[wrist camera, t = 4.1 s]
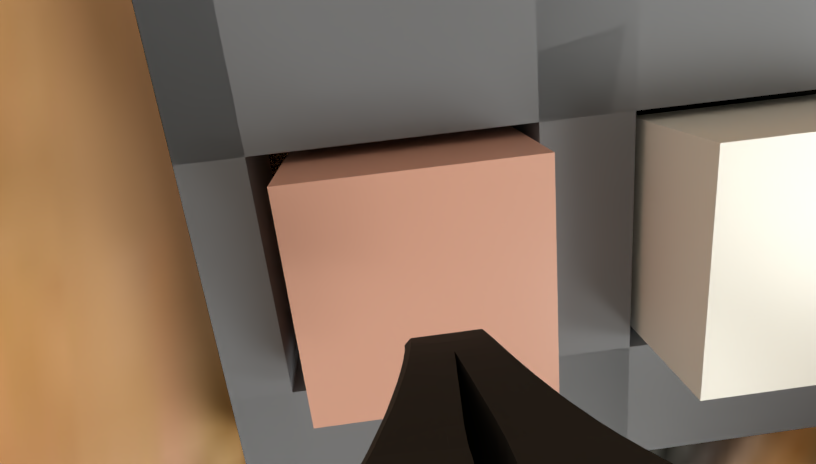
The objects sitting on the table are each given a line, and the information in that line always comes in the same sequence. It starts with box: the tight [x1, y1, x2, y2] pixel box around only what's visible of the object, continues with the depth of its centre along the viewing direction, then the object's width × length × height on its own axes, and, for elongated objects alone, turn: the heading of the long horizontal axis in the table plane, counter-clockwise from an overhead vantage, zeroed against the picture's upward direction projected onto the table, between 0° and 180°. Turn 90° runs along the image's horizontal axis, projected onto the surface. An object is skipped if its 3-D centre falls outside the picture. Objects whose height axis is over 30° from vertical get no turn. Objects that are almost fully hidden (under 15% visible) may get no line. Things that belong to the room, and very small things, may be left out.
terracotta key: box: [267, 126, 559, 428], centre depth 15 cm, size 6×6×4 cm
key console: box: [132, 0, 816, 464], centre depth 16 cm, size 20×14×3 cm
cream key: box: [630, 94, 816, 401], centre depth 14 cm, size 6×6×4 cm
